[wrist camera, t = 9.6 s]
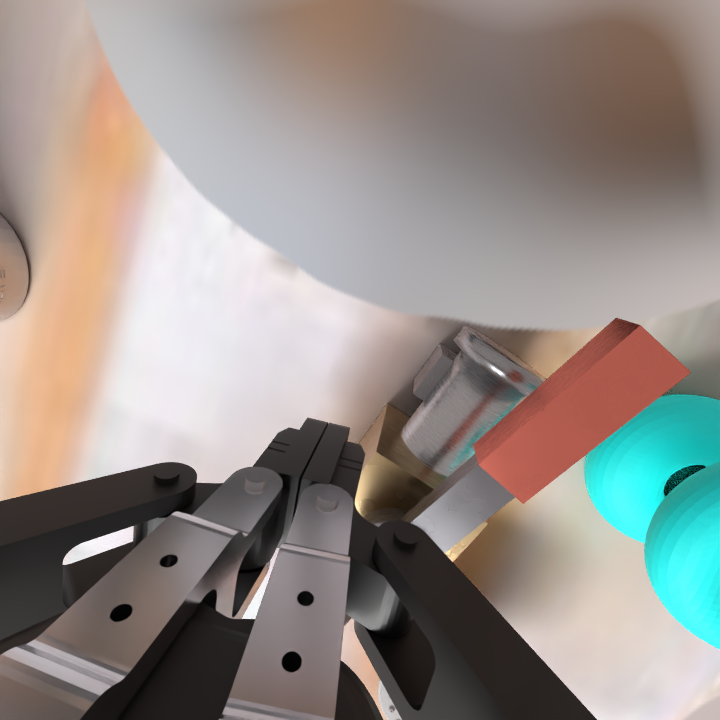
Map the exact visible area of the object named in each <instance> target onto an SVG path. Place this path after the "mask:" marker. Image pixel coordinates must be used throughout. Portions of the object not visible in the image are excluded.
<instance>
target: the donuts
mask: <svg viewBox="0 0 720 720" xmlns="http://www.w3.org/2000/svg"><path fill="white" fill-rule="evenodd" d="M691 465H704V466H705V468H704V469H702V470H700V471H698V472H696V473H694V474H693V475H691V476H689V477H688V478H686V479H685V480H684V481H682V482H681V483H680V484H678V485H677V486H676V487H675V488H674V489H673V490H672V491H671V492H670V493H669V494H668V495H667V496H665V495H664V486H665V484H666V482H667V480H668V479H669V478H670V476H671V475H672V474H674V473H675V472H677V471H678V470H680V469H682V468H684V467H688V466H691ZM585 481H586V486H587V490H588V493H589V496H590V498H591V500H592V502H593V504H594V505H595V507H596V508H597V510H598V511H599V513H600V514H601V515H602V516H603V517H604V518H605V520H607V521H608V522H609V523H610V524H611V525H612V526H613V527H615V528H616V529H617V530H619V531H620V532H622V533H623V534H625V535H627V536H629V537H631V538H633V539H635V540H637V541H640V542H643V543H645V549H644V551H645V563H646V569H647V573H648V576H649V579H650V581H651V584H652V586H653V588H654V591H655V592H656V594H657V596H658V597H659V599H660V600H661V602H662V603H663V605H664V606H665V607H666V609H667V610H668V611H669V612H670V614H671V615H672V616H673V617H674V618H675V619H676V620H677V621H678V622H680V623H681V624H682V625H683V626H684V627H685V628H686V629H687V630H689V631H690V632H691V633H693V634H694V635H696V636H697V637H699V638H700V639H702V640H704V641H705V642H707V643H709V644H711V645H712V646H714V647H716V648H718V649H720V400H717V399H714V398H709V397H704V396H698V395H687V394H676V395H666V396H660V397H659V398H658V399H657V400H655V401H654V402H653V403H651V404H650V405H649V406H648V407H646V408H645V409H644V410H643V411H641V412H640V413H639V414H637V415H636V416H635V417H634V418H632V419H631V420H630V421H628V422H627V423H626V424H625V425H623V426H622V427H621V428H619V429H618V430H617V431H616V432H614V433H613V434H612V435H611V436H609V437H608V438H607V439H605V440H604V441H603V442H602V443H600V444H599V445H598V446H596V447H595V448H594V449H593V450H591V451H590V452H589V453H588V454H587V457H586V462H585Z"/></svg>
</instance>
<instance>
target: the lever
mask: <svg viewBox="0 0 720 720" xmlns="http://www.w3.org/2000/svg"><path fill="white" fill-rule="evenodd" d="M690 373H691V372H690V371H689V370H688V369H687V368H686V367H685V366H684V365H683V364H682V363H680V362H679V361H678V360H677V359H676V358H675V357H674V356H673V355H672V354H671V353H670V352H669V351H668V350H666V349H665V348H664V347H663V346H662V345H661V344H660V343H659V342H658V341H657V340H656V339H655V338H654V337H653V336H651V335H650V334H649V333H648V332H647V331H646V330H645V329H644V328H643V327H642V326H641V325H638V324H635V323H631V322H628V321H625V320H622V319H618V318H615V319H614V320H613V321H612V322H611V323H610V324H609V325H607V326H606V327H605V328H604V329H603V330H602V331H601V332H600V333H598V334H597V335H596V336H595V337H594V338H593V339H592V340H591V341H589V342H588V343H587V344H586V345H585V346H584V347H583V348H582V349H580V350H579V351H578V352H577V353H576V354H575V355H574V356H572V357H571V358H570V359H569V360H568V361H567V362H566V363H565V364H563V365H562V366H561V367H560V368H559V369H558V370H557V371H556V372H554V373H553V374H552V375H551V376H550V377H549V378H548V379H547V380H545V381H544V382H543V383H542V384H541V385H540V386H539V387H537V388H536V389H535V390H534V391H533V392H532V393H531V394H530V395H528V396H527V397H526V398H525V399H524V400H523V401H522V402H521V403H519V404H518V405H517V406H516V407H515V408H514V409H513V410H512V411H510V412H509V413H508V414H507V415H506V416H505V417H504V418H502V419H501V420H500V421H499V422H498V423H497V424H496V425H495V426H493V427H492V428H491V429H490V430H489V431H488V432H487V433H486V434H484V435H483V436H482V437H481V438H480V439H479V440H478V441H477V442H475V443H474V444H473V447H474V451H475V454H474V455H473V456H472V457H470V458H469V459H468V460H467V461H466V462H465V463H464V464H462V465H461V466H460V467H459V468H458V469H457V470H456V471H454V472H453V473H452V474H451V475H450V476H449V477H448V478H446V479H445V480H444V481H443V482H442V483H441V484H440V485H438V486H437V487H436V488H435V489H434V490H433V491H432V492H430V493H429V494H428V495H427V496H426V497H425V498H424V499H422V500H421V501H420V502H419V503H418V504H417V505H416V506H414V507H413V508H412V509H411V510H410V511H406V510H403V509H398V508H383V509H378V510H375V511H373V512H370V513H369V514H367V515H366V516H364V517H363V518H364V519H366V520H367V521H368V522H370V523H372V524H374V525H376V526H377V527H379V526H380V525H381V524H383V523H384V522H387V521H391V520H402V521H406V522H409V523H412V524H414V525H416V526H418V527H419V528H421V529H422V530H423V531H424V532H425V533H426V534H427V535H428V536H429V537H430V538H431V539H432V540H433V541H434V542H435V543H436V544H437V546H438V547H439V548H440V549H441V550H442V551H443V552H444V553H445V552H447V551H448V550H449V549H450V548H452V547H453V546H454V545H455V544H457V543H458V542H459V541H461V540H462V539H463V538H464V537H466V536H467V535H468V534H469V533H471V532H472V531H473V530H474V529H476V528H477V527H478V526H479V525H481V524H482V523H483V522H484V521H486V520H487V519H488V518H489V517H491V516H492V515H493V514H494V513H496V512H497V511H498V510H500V509H501V508H502V507H503V506H505V505H506V504H507V503H508V502H510V501H511V500H512V499H513V498H515V497H516V498H517V499H518V500H519V501H520V502H522V503H523V504H524V503H525V502H526V501H527V500H529V499H530V498H531V497H532V496H534V495H535V494H536V493H538V492H539V491H540V490H541V489H543V488H544V487H545V486H547V485H548V484H549V483H550V482H552V481H553V480H554V479H556V478H557V477H558V476H559V475H561V474H562V473H563V472H564V471H566V470H567V469H568V468H570V467H571V466H572V465H573V464H575V463H576V462H577V461H579V460H580V459H581V458H582V457H584V456H585V455H586V454H588V453H589V452H590V451H591V450H593V449H594V448H595V447H596V446H598V445H599V444H600V443H602V442H603V441H604V440H605V439H607V438H608V437H609V436H611V435H612V434H613V433H614V432H616V431H617V430H618V429H619V428H621V427H622V426H623V425H625V424H626V423H627V422H628V421H630V420H631V419H632V418H634V417H635V416H636V415H637V414H639V413H640V412H641V411H643V410H644V409H645V408H646V407H648V406H649V405H650V404H651V403H653V402H654V401H655V400H657V399H658V398H659V397H660V396H662V395H663V394H664V393H666V392H667V391H668V390H669V389H671V388H672V387H673V386H675V385H676V384H677V383H678V382H680V381H681V380H682V379H683V378H685V377H686V376H687V375H689V374H690Z"/></svg>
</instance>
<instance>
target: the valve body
mask: <svg viewBox="0 0 720 720" xmlns="http://www.w3.org/2000/svg"><path fill="white" fill-rule="evenodd" d="M454 342H455V343H456V345H457V346H458V347H459V348H460V349H461V351H460V352H459V354H458V355H457V354H456V353H454V352H453V351H451V350H450V349H448V348H447V347H445V346H444V345H442V344H441V343H440V344H439V345H438V347H437V348H436V349H435V351H434V352H433V354H432V355H431V356H430V358H429V359H428V360H427V362H426V363H425V365H424V366H423V367H422V369H421V370H420V371H419V373H418V374H417V376H416V377H415V378H414V387H413V394H414V395H415V396H417V397H418V398H420V399H421V400H423V402H422V403H421V404H420V406H419V407H418V408H417V410H416V411H415V412H414V414H413V415H412V416H411V418H410V417H408V416H407V415H405V414H404V413H402V412H400V411H399V410H397V409H396V408H394V407H393V406H391V405H390V404H388V403H387V405H386V406H385V408H384V409H383V410H382V412H381V413H380V415H379V416H378V417H377V419H376V420H375V422H374V423H373V424H372V426H371V427H370V429H369V430H368V431H367V433H366V434H365V436H364V437H363V438H362V440H361V441H360V443H359V445H361V446H362V448H363V450H364V452H365V458H364V462H363V467H362V471H361V476H360V480H359V485H358V489H357V493H356V498H355V506H356V509H357V511H358V512H359V513H360V515H361V516H362V517H364V516H366V515H367V514H369V513H370V512H373V511H375V510H378V509H383V508H398V509H403V510H406V511H410V510H411V509H412V508H413V507H414V506H416V505H417V504H418V503H419V502H420V501H421V500H422V499H424V498H425V497H426V496H427V495H428V494H429V493H430V492H432V491H433V490H434V489H435V488H436V487H437V486H438V485H440V484H441V483H442V482H443V481H444V480H445V479H446V478H448V477H449V476H450V475H451V474H452V473H453V472H454V471H456V470H457V469H458V468H459V467H460V466H461V465H462V464H464V463H465V462H466V461H467V460H468V459H469V458H470V457H472V456H473V455H474V454H475V451H474V447H473V444H474V443H475V442H477V441H478V440H479V439H480V438H481V437H482V436H483V435H484V434H486V433H487V432H488V431H489V430H490V429H491V428H492V427H493V426H495V425H496V424H497V423H498V422H499V421H500V420H501V419H502V418H504V417H505V416H506V415H507V414H508V413H509V412H510V411H512V410H513V409H514V408H515V407H516V406H517V405H518V404H519V403H521V402H522V401H523V400H524V398H525V397H526V396H528V395H530V394H531V393H532V392H533V391H534V390H535V389H536V388H537V387H539V386H540V385H541V384H542V383H543V382H544V381H545V380H547V379H545V378H544V377H543V376H542V375H541V374H539V373H538V372H537V371H536V370H534V369H533V368H532V367H530V366H529V365H528V364H526V363H525V362H524V361H522V360H521V359H519V358H518V357H517V356H515V355H514V354H512V353H511V352H509V351H508V350H506V349H505V348H504V347H502V346H501V345H499V344H498V343H496V342H494V341H493V340H491V339H490V338H488V337H487V336H485V335H483V334H482V333H480V332H478V331H477V330H475V329H473V328H471V327H469V326H466V325H464V326H463V328H462V329H461V331H460V332H459V333H458V335H457V336H456V337H455V339H454ZM487 525H488V523H487V520H486V521H484V522H483V523H482V524H481V525H479V526H478V527H477V528H476V529H474V530H473V531H472V532H471V533H469V534H468V535H467V536H466V537H464V538H463V539H462V540H461V541H459V542H458V543H457V544H455V545H454V546H453V547H452V548H450V549H449V550H448V551H447V552H445V554H446V555H447V556H448V558H449V559H450V560H451V561H452V562H453V561H454V560H455V559H456V558H457V557H458V556H459V555H460V554H461V553H462V552H463V551H464V550H465V548H466V547H467V546H468V545H469V544H470V543H471V542H472V541H473V540H474V539H475V538H476V537H477V536H478V535H479V534H480V532H481V531H482V530H483V529H484V528H485V527H486V526H487ZM350 619H351V617H350V616H348V615H346V614H345V619H344V626H345V625H346V624H347V623H348V621H349V620H350Z"/></svg>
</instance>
